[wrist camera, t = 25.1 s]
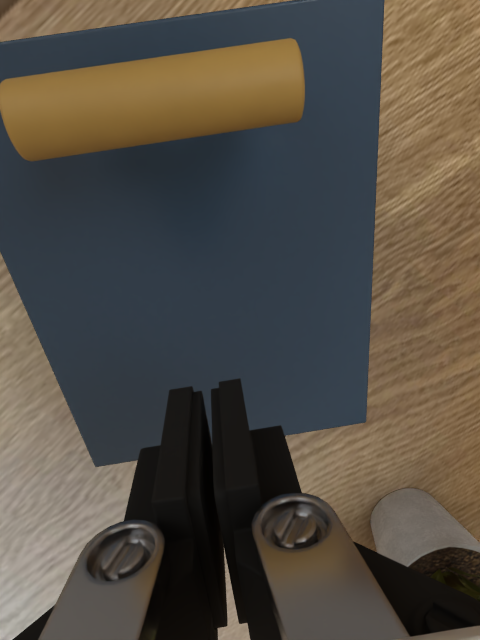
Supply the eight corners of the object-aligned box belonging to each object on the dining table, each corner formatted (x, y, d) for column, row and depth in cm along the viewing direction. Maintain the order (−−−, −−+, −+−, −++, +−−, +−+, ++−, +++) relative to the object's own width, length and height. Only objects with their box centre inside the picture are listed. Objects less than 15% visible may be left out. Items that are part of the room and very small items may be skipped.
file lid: (-74, 53, 13) (-218, 66, 8) (375, -11, 13) (480, -32, 8) (97, 454, 21) (75, 567, 17) (360, 410, 22) (407, 511, 17)
